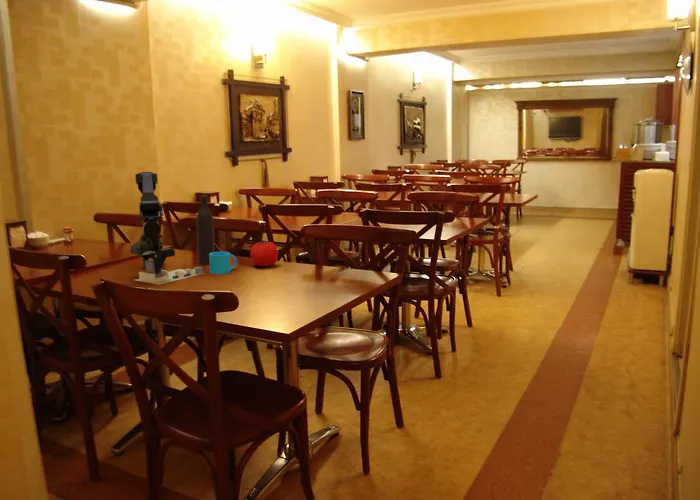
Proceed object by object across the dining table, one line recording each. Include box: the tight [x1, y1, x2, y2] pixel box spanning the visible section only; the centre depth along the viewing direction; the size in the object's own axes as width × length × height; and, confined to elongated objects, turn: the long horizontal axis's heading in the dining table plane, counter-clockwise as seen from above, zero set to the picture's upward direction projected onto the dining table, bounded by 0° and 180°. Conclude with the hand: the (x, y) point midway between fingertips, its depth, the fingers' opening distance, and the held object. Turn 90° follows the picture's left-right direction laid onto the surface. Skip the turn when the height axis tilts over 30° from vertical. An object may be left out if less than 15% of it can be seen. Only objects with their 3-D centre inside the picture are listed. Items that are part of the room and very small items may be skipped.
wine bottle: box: [195, 194, 216, 266], centre depth 254 cm, size 7×7×30 cm
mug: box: [209, 251, 238, 275], centre depth 241 cm, size 12×8×8 cm
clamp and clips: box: [175, 266, 204, 280], centre depth 233 cm, size 4×12×2 cm, turn 148°
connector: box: [145, 258, 162, 277], centre depth 227 cm, size 4×4×7 cm
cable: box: [173, 273, 190, 279], centre depth 232 cm, size 2×10×1 cm, turn 148°
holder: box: [138, 269, 169, 282], centre depth 227 cm, size 9×7×3 cm
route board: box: [134, 268, 204, 286], centre depth 232 cm, size 14×23×1 cm, turn 148°
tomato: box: [249, 240, 279, 267], centre depth 253 cm, size 12×12×11 cm
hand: (153, 273), depth 227 cm, fingers closed on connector, 4 cm apart
